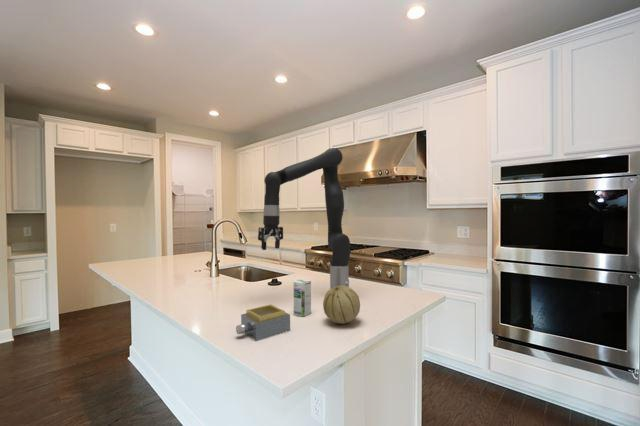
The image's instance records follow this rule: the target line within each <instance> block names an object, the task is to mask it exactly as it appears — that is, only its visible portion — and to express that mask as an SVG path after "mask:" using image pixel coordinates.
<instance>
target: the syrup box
mask: <svg viewBox="0 0 640 426" xmlns="http://www.w3.org/2000/svg"><path fill="white" fill-rule="evenodd" d="M292 283H293V286H292V288H293V295H292V296H293V315H294V316H297V317H298V316H299V317H302V318H305V317H306V316H308V315H310V314H311V313H312V281H311V280H306V279H296V280H293V282H292Z"/></svg>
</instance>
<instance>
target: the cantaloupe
mask: <svg viewBox="0 0 640 426" xmlns="http://www.w3.org/2000/svg"><path fill="white" fill-rule="evenodd" d="M322 307H323V311H324V314H325V315H326V317H327V319H328V320H330V321H331V322H332V323H335V324H337V325H338V324H339V325H345V324H349V323H351V322H352V321H353V320H356V318H357V317H358V316H359V313H360V310H361V301H360V297H359V296H358V294H357V292H356V291H355V290H354V289H353V288H352V287H350V286H349V287H347V286H342V285H341V286H336V287H333V288H332V289H330V288H329V290H328V291H327V292H326V293H325V295H324V298H323V302H322Z"/></svg>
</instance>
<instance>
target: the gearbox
mask: <svg viewBox="0 0 640 426" xmlns="http://www.w3.org/2000/svg"><path fill="white" fill-rule="evenodd" d="M245 312H246V313H242V314H241V315H240V319H241V320H240V323H241V324H238V325H236V327H235V331H236V334H237V335H242V334H246V335H247V336H249V337H250V338H251V339H252V340H254V341H255V342H257V341H261V340H264V339H268V338H270V337H274V336H278V335H280V333H281V334H283V332H284V333H287V332H290V331H291V314H290V313H288V312H286V311H285V310H283V309H281V308H279V307H277V306H275V305H273V304H267V305H263V306H262V305H261V306H258V307H255V308H253V307H252V308H250V309H249V308H248V309H246V311H245ZM289 330H290V331H289ZM286 331H287V332H286ZM267 337H268V338H267Z"/></svg>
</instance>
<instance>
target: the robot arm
mask: <svg viewBox="0 0 640 426" xmlns="http://www.w3.org/2000/svg"><path fill="white" fill-rule="evenodd" d="M343 158H344V157H343V153H342V151H340V149H338V148H335V147H331V148H328V149H326V150H325V151H324V152H322V153H320V154H319V155H317V156H314V157H312V158H309V159H307V160H303V161H300V162H297V163H294V164H292V165H289V166H288V165H287V166H285V167H284V168H282V169H280V170H277V171H270V172H268V173H267V174H266V175H265V177H264V184H265V185H264V186H265V193H264V199H263V200H264V202H263V204H264V205H263V220H262V221H263V223H262V224H263V227H260V226H259V227H258V232H257V233H258V234H257V241H259V242H261V245H260V246H261V250H262V251H267V241H268V239H269V238H270V237H274V239H275V241H274V248H275V249H280V245H281V244H280V243H281V240H283V239H284V227H283V226H279V225H280V219H281V218H280V213H281V211H280V210H281V209H280V191H281V186H282V185H284V184H285V183H289V182H292V181H295V180H298V179H300V178H303V177H305V176H307V175H309V174H311V173H315V172H316V171H319V170H321V169H322V173H323V178H324V198H325V199H324V200H325V208H326V210H325V211H326V218H327V219H326V220H327V244H328V247H329V248H330V249H331V251H332V253H331V254H332V256H331V259H330V260H329V283H330V284H329V290H330V289H332V288H333V287H336V286H341V285H342V286H347V287H350V279H349V261H350V260H351V259H350V258H351V240H350V237H348V235H347V234H345V233H343V226H342V220H343V216H344V210H345V200H344V193H343V189H342V185H341V183H340V180H339V173H338V171H339V169H338V166H339V165H340V164H341V163H342V160H343Z"/></svg>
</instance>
